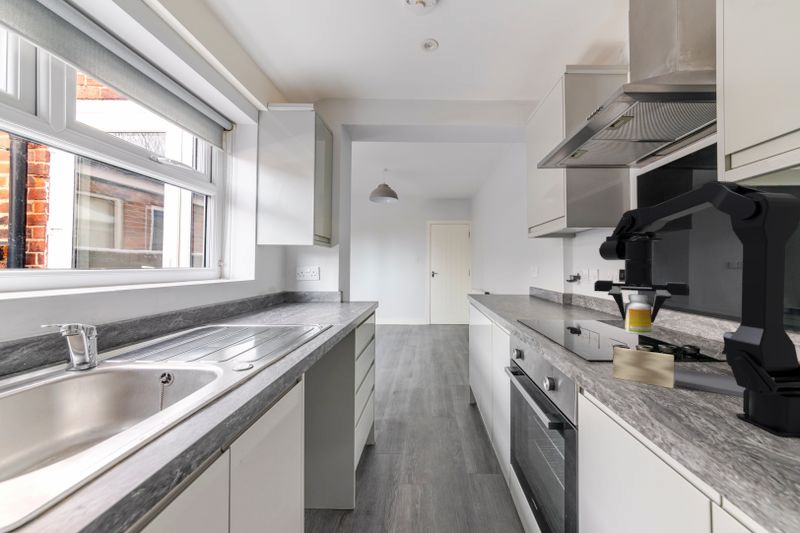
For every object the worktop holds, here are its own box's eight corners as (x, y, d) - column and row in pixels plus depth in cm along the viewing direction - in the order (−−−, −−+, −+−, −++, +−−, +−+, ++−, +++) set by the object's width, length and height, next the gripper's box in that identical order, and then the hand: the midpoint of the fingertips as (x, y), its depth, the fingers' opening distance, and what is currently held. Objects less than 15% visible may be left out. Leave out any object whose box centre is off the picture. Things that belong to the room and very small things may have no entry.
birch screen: (672, 386, 70) (673, 355, 70) (673, 388, 69) (673, 356, 69) (613, 375, 77) (613, 347, 77) (613, 377, 76) (613, 348, 76)
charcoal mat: (737, 381, 74) (738, 377, 74) (753, 399, 64) (753, 394, 64) (670, 370, 81) (670, 366, 81) (675, 385, 71) (675, 380, 71)
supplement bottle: (657, 335, 77) (657, 296, 77) (634, 335, 77) (635, 296, 77) (640, 331, 83) (641, 294, 83) (619, 330, 83) (620, 293, 83)
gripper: (684, 260, 81) (683, 321, 81) (598, 260, 92) (597, 313, 92) (690, 259, 72) (689, 327, 72) (594, 259, 83) (593, 318, 83)
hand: (637, 321), depth 80 cm, fingers closed on supplement bottle, 5 cm apart
